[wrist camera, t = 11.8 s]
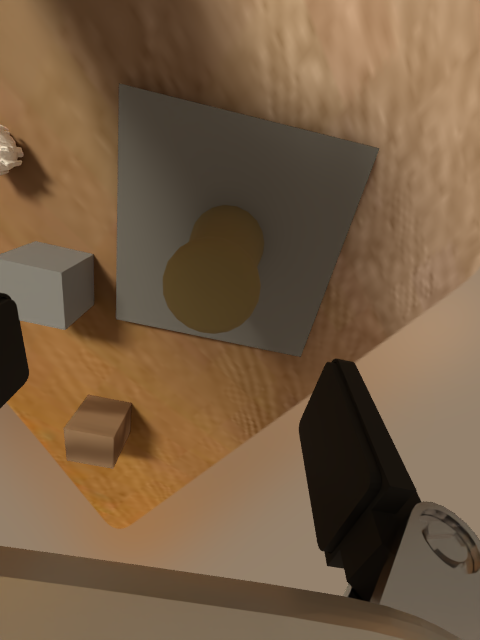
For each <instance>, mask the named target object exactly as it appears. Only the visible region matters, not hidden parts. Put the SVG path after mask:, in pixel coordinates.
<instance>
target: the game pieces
mask: <svg viewBox="0 0 480 640" xmlns="http://www.w3.org/2000/svg"><path fill="white" fill-rule="evenodd" d="M4 130H7V131H9V129H8V128H6V127H5V126H3V125H1V124H0V175H3V174H7V173H9V170H10V169H12V168H13V167H15V166H19V165H21V164H22V161H21V160H17V159H18V157H23V155H24V154H23V152H22V148H21V147H16V142H15V141H14V139H13V138H12V137H11V136H10V133H9V132H7V131H4Z"/></svg>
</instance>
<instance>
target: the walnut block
mask: <svg viewBox="0 0 480 640" xmlns="http://www.w3.org/2000/svg"><path fill="white" fill-rule="evenodd" d="M131 406H132V403H129V402H124V401H119V400H113V399H108V398H103V397H98V396H92V395H88V396H87V397H86V398H85V400H84V401H83V403H82V404H81V405H80V407H79V408H78V409H77V411H76V412H75V414H74V415H73V416H72V418H71V419H70V420H69V422H68V423H67V425H66V426H65V427H64V437H65V447H66V457H67V461H73V462H79V463H84V464H90V465H95V466H101V467H107V468H112V469H113V468H114V466H115V464H116V462H117V459H118V457H119V455H120V453H121V451H122V449H123V447H124V444H125V442H126V440H127V438H128V436H129V434H130V426H131Z"/></svg>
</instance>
